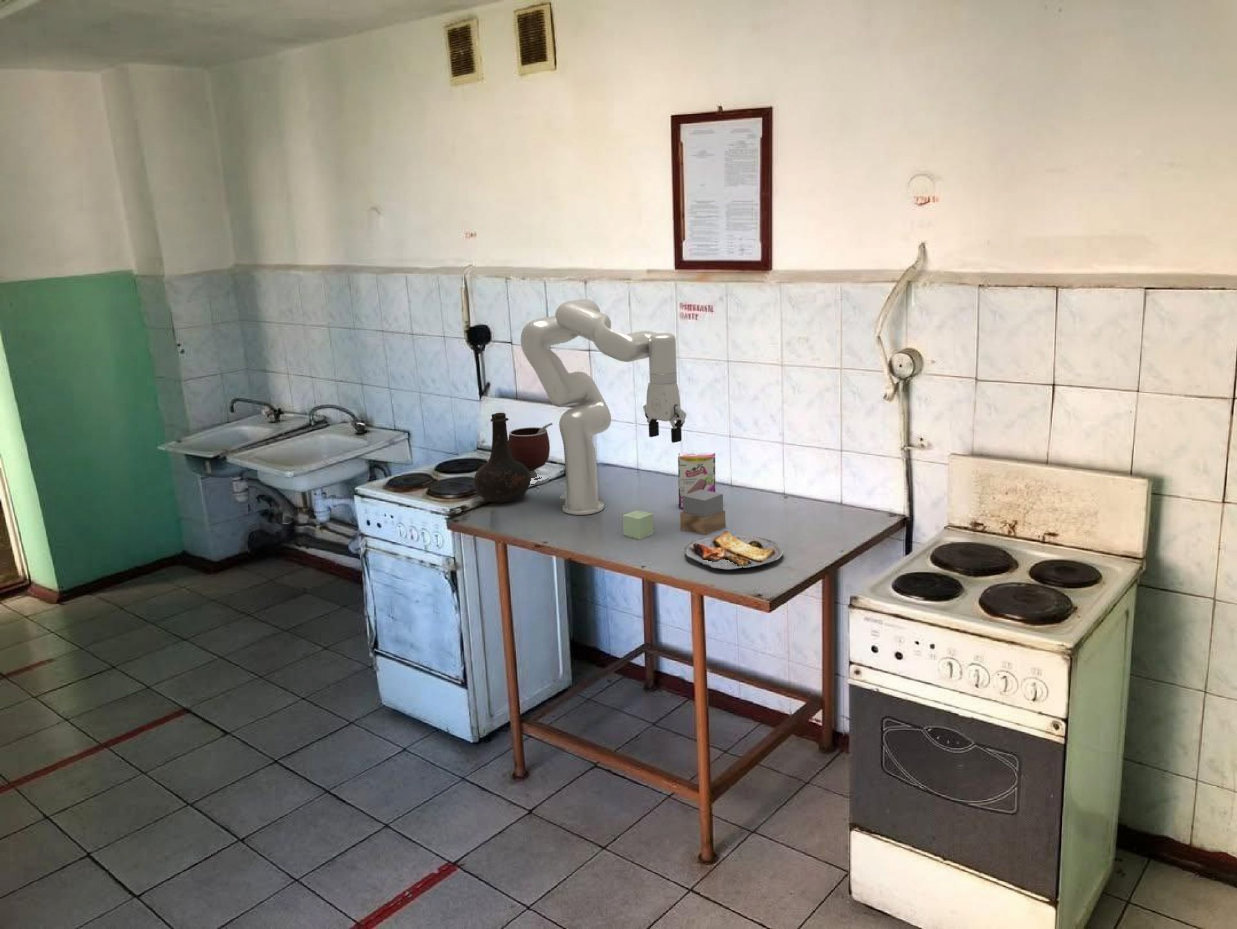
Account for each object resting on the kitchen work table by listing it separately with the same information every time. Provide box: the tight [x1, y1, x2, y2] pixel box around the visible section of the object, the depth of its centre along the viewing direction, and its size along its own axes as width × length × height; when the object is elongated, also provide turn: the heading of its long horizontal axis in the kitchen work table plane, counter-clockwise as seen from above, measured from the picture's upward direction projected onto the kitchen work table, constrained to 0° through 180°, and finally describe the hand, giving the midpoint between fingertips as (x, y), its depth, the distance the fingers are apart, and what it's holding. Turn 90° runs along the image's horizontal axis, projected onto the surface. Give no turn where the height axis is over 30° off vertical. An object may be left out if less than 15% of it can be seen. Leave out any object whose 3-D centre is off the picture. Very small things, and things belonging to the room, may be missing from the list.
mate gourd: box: [508, 422, 554, 485], centre depth 338 cm, size 16×14×20 cm
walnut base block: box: [679, 509, 726, 536], centre depth 282 cm, size 9×9×5 cm
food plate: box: [684, 530, 784, 570], centre depth 259 cm, size 25×23×4 cm
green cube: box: [622, 509, 655, 540], centre depth 279 cm, size 6×6×6 cm
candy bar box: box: [677, 452, 717, 509], centre depth 301 cm, size 11×5×16 cm, turn 84°
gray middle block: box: [682, 489, 724, 518], centre depth 281 cm, size 8×8×5 cm
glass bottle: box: [473, 412, 531, 504], centre depth 317 cm, size 18×18×28 cm
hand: (665, 439), depth 280 cm, fingers open, 9 cm apart
